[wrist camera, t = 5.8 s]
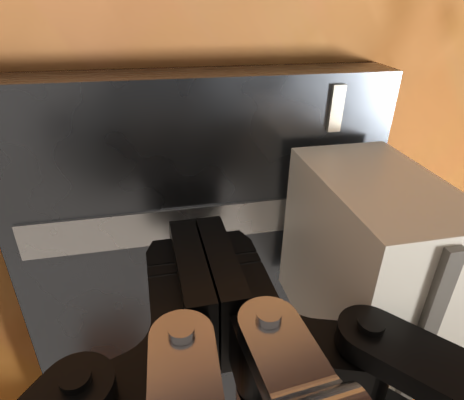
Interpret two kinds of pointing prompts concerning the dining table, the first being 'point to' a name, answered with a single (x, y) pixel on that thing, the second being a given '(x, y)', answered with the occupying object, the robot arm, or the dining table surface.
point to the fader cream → (373, 237)
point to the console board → (155, 178)
